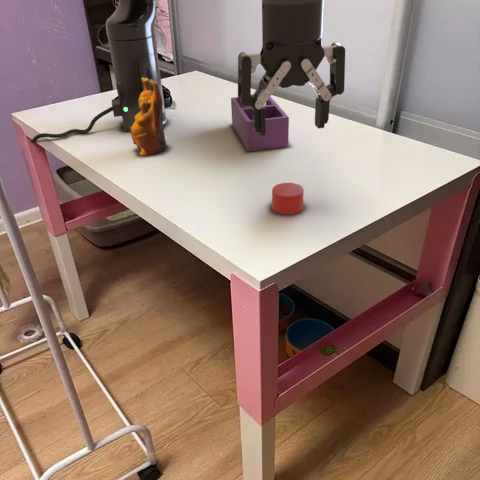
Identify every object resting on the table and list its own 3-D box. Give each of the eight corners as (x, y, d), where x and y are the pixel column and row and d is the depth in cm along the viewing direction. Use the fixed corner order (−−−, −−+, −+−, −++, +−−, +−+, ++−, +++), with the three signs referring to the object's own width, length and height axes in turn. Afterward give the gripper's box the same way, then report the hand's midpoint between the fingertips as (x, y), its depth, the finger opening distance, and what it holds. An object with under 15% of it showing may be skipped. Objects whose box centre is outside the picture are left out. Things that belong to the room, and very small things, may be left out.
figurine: (129, 151, 99) (116, 82, 91) (155, 141, 103) (146, 73, 95) (149, 160, 96) (138, 88, 88) (176, 149, 100) (168, 79, 91)
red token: (276, 216, 78) (276, 198, 76) (268, 202, 81) (268, 184, 79) (306, 212, 78) (307, 194, 76) (297, 198, 82) (298, 180, 80)
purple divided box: (248, 151, 97) (247, 122, 94) (232, 125, 109) (230, 97, 105) (288, 146, 98) (289, 117, 95) (268, 120, 110) (268, 93, 106)
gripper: (337, -13, 65) (329, 116, 76) (229, -4, 64) (235, 127, 74) (360, -5, 60) (347, 133, 70) (242, 6, 58) (247, 146, 68)
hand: (290, 130), depth 72 cm, fingers open, 8 cm apart
